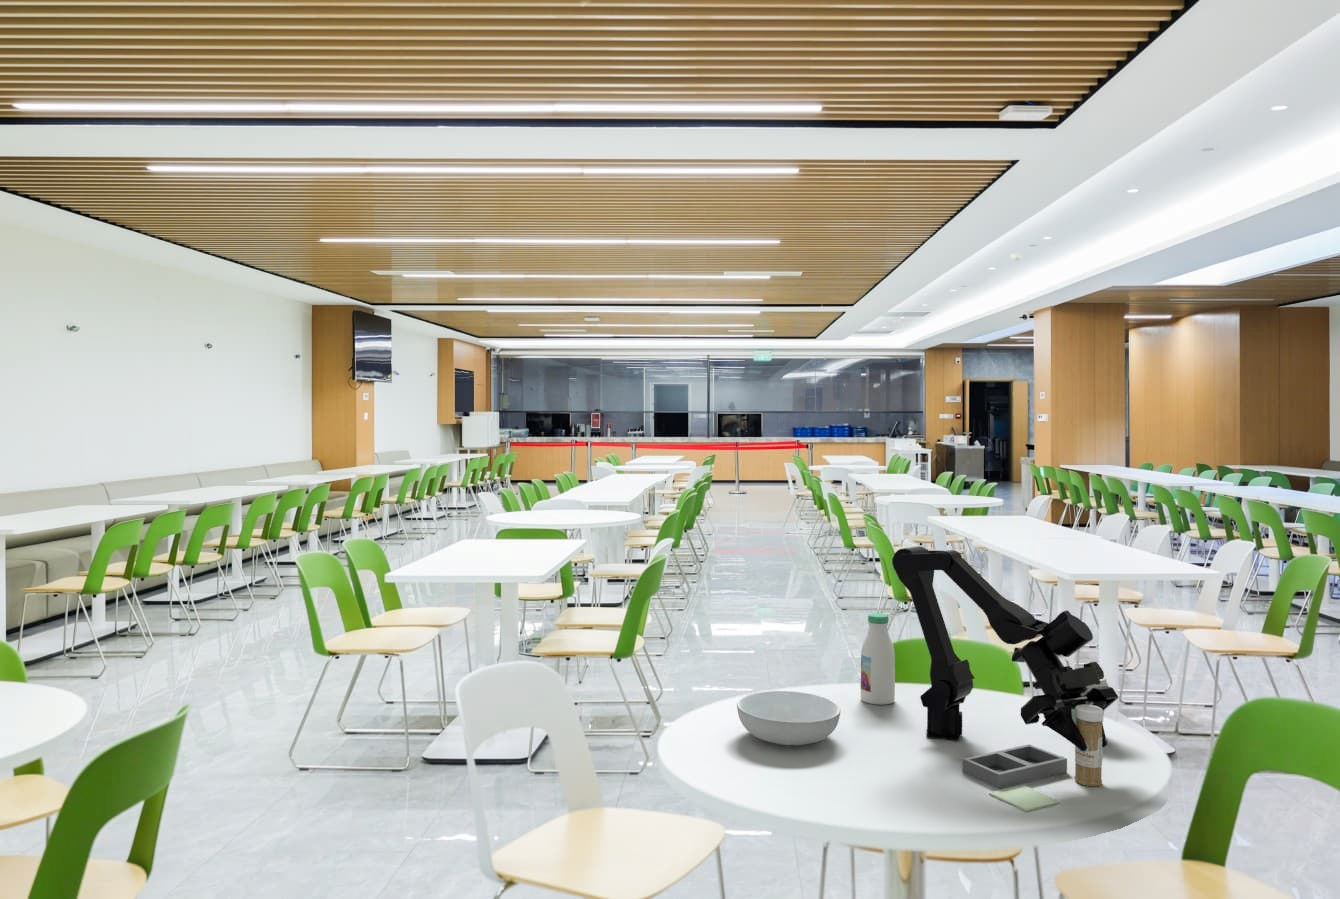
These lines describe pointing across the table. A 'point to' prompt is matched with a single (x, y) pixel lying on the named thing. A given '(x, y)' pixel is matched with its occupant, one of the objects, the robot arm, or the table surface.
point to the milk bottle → (877, 663)
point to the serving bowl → (788, 716)
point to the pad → (1024, 798)
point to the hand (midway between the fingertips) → (1095, 748)
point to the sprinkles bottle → (1089, 745)
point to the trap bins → (1014, 766)
